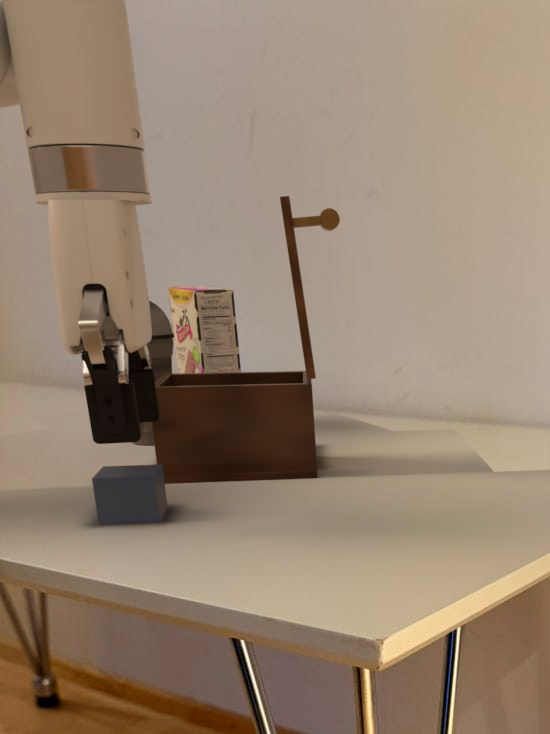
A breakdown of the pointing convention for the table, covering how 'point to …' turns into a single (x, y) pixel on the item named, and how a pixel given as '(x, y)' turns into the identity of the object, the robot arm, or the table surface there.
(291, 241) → the lid
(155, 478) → the block
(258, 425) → the chest
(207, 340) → the candy bar box
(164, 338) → the beverage cup
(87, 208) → the robot arm
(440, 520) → the table surface
